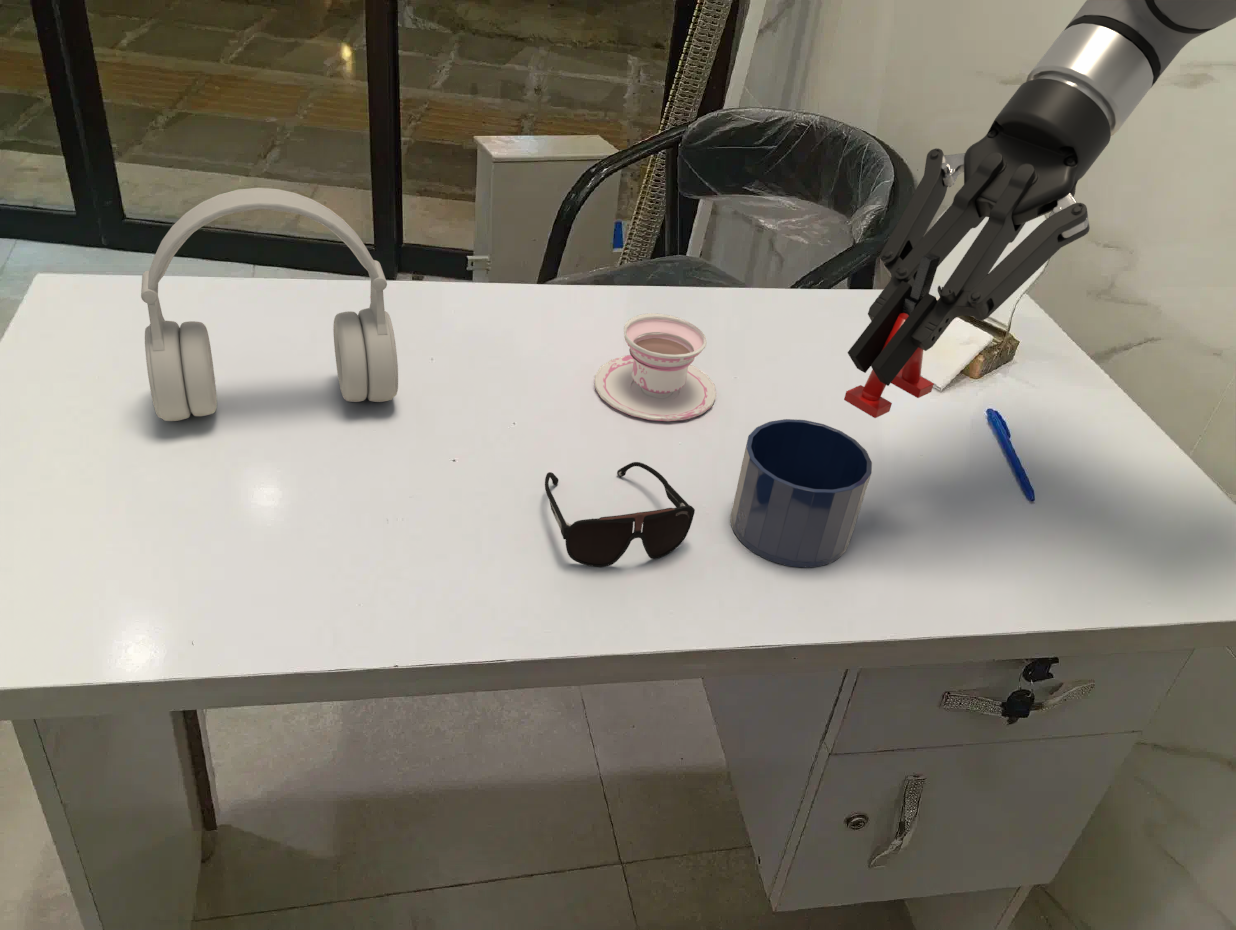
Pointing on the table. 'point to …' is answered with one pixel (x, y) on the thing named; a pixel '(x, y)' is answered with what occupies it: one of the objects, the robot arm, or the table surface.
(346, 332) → the headphones
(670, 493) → the sunglasses
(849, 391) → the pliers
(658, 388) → the teacup
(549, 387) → the table surface
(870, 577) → the table surface
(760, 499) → the pen cup
